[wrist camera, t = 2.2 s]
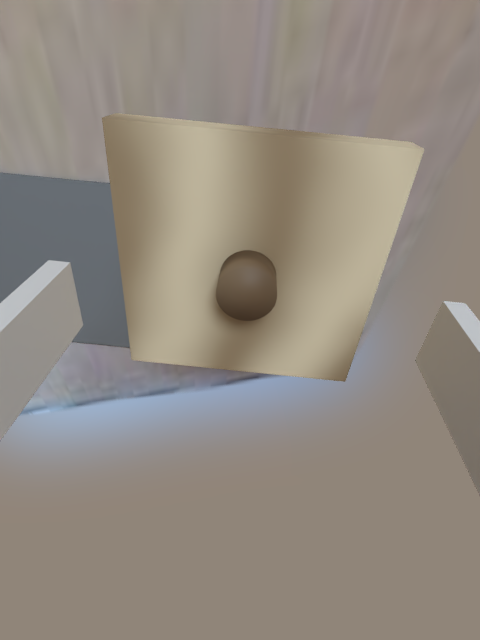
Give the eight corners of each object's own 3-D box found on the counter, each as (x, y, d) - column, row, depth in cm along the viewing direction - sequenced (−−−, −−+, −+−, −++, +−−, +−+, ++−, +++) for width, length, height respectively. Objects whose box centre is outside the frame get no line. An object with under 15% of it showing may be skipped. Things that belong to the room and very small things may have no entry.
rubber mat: (-6, 331, 37) (-8, 333, 37) (-71, 165, 28) (-74, 166, 28) (150, 347, 37) (149, 349, 37) (137, 186, 28) (136, 187, 28)
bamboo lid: (139, 342, 20) (121, 382, 18) (115, 113, 14) (82, 124, 11) (340, 363, 20) (351, 405, 18) (411, 142, 14) (442, 159, 11)
